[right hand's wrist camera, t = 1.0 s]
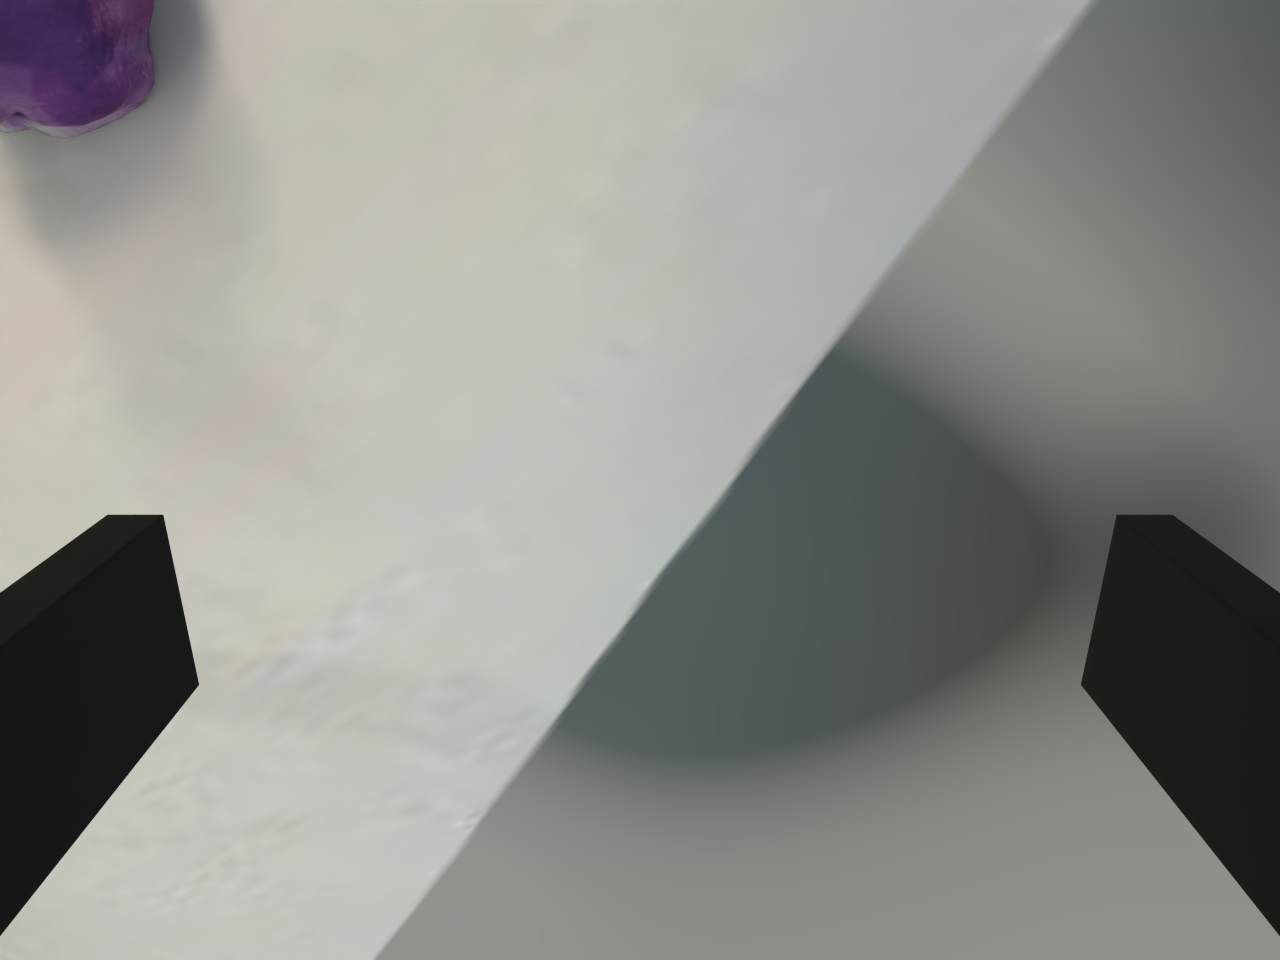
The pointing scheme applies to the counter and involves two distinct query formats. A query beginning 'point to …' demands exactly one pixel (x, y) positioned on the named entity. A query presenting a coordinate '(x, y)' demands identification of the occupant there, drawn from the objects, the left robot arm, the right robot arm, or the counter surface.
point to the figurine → (72, 63)
